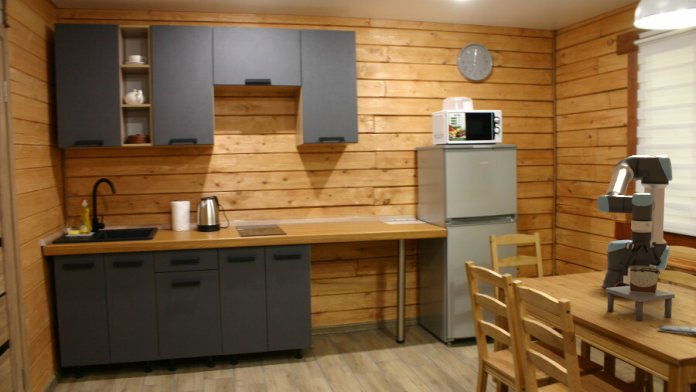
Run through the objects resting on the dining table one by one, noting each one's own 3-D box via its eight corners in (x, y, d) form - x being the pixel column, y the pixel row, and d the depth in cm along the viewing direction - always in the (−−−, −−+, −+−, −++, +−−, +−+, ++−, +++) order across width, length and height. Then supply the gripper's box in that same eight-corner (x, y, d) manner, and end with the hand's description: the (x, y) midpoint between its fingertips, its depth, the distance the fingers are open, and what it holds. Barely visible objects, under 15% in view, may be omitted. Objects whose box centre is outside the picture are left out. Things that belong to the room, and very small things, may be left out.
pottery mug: (641, 300, 264) (635, 286, 262) (621, 308, 266) (615, 294, 264) (630, 287, 276) (624, 273, 273) (611, 295, 277) (605, 282, 275)
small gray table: (638, 306, 253) (638, 284, 252) (673, 317, 236) (674, 294, 235) (604, 310, 247) (605, 288, 246) (639, 322, 230) (639, 298, 229)
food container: (658, 290, 241) (659, 266, 240) (659, 294, 235) (660, 269, 235) (625, 288, 246) (625, 264, 245) (626, 291, 240) (626, 267, 239)
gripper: (624, 233, 231) (622, 286, 232) (672, 230, 239) (670, 281, 241) (610, 231, 238) (608, 282, 240) (657, 228, 246) (655, 277, 248)
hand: (639, 282), depth 240 cm, fingers open, 13 cm apart
